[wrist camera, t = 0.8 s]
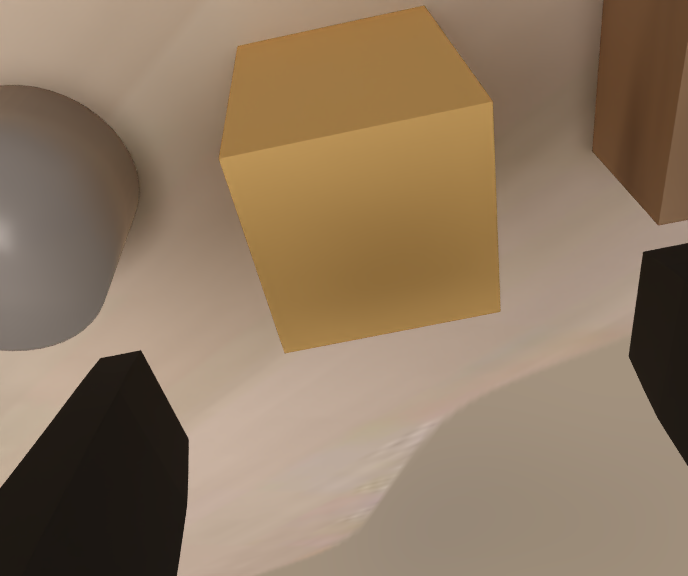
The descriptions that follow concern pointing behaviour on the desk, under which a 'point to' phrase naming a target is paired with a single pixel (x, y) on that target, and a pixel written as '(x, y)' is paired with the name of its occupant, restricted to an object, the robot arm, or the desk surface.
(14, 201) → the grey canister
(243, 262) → the desk surface
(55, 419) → the robot arm
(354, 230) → the ochre block
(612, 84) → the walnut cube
